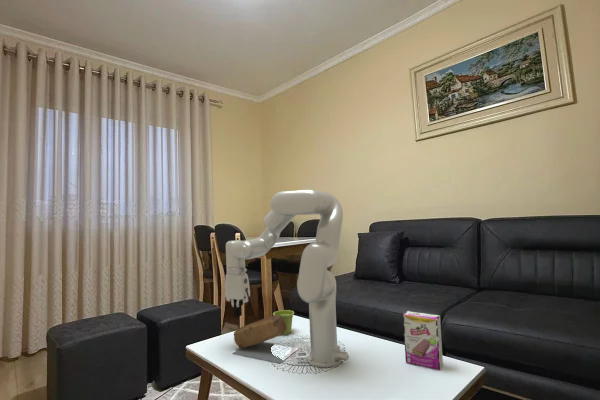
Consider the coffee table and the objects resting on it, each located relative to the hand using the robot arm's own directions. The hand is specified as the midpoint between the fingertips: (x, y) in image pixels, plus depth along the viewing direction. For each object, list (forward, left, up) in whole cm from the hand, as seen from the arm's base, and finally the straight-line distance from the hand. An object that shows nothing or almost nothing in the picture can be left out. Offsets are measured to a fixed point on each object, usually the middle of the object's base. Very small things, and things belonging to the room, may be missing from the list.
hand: (237, 316), depth 132 cm
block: (-1, 0, -9) cm, 9 cm away
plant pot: (-9, -20, -12) cm, 25 cm away
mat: (-14, 0, -12) cm, 18 cm away
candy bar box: (-69, -12, -12) cm, 71 cm away
